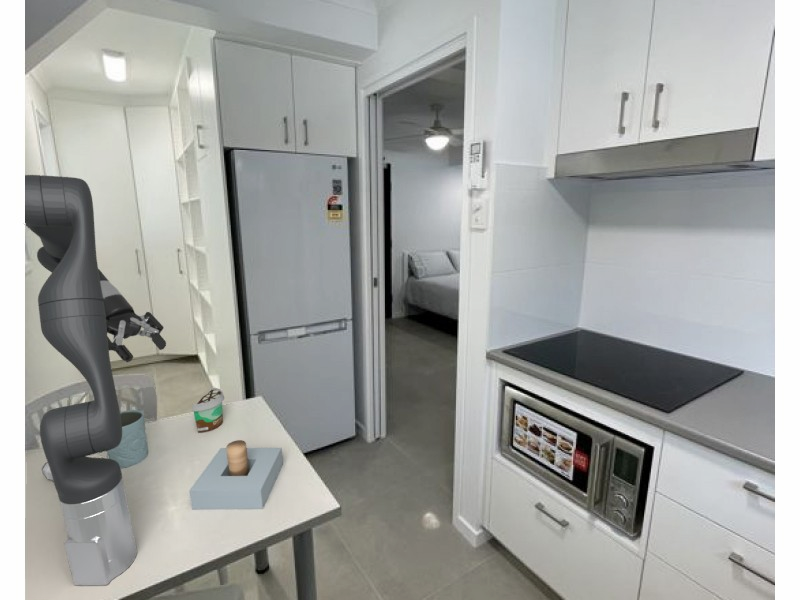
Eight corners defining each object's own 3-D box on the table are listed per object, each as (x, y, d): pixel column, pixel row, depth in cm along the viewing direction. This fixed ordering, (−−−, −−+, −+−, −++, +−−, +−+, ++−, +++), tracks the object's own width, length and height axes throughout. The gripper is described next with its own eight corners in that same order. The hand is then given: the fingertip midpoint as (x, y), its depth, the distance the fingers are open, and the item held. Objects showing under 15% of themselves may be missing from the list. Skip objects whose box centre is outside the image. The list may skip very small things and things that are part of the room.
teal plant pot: (146, 464, 106) (139, 424, 103) (101, 474, 103) (92, 432, 100) (153, 444, 115) (147, 406, 113) (112, 452, 112) (104, 413, 109)
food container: (215, 435, 119) (211, 405, 117) (195, 435, 120) (191, 405, 117) (233, 414, 131) (230, 386, 129) (215, 414, 132) (211, 386, 129)
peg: (246, 491, 96) (241, 450, 93) (228, 491, 96) (223, 451, 93) (253, 479, 100) (248, 440, 98) (235, 479, 100) (230, 440, 98)
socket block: (262, 508, 90) (260, 489, 89) (192, 509, 90) (189, 490, 89) (283, 464, 106) (281, 447, 105) (222, 464, 106) (220, 447, 105)
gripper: (80, 300, 89) (124, 354, 88) (140, 288, 102) (179, 335, 101) (69, 321, 92) (112, 373, 91) (129, 306, 105) (167, 352, 104)
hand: (147, 353), depth 96 cm, fingers open, 8 cm apart
